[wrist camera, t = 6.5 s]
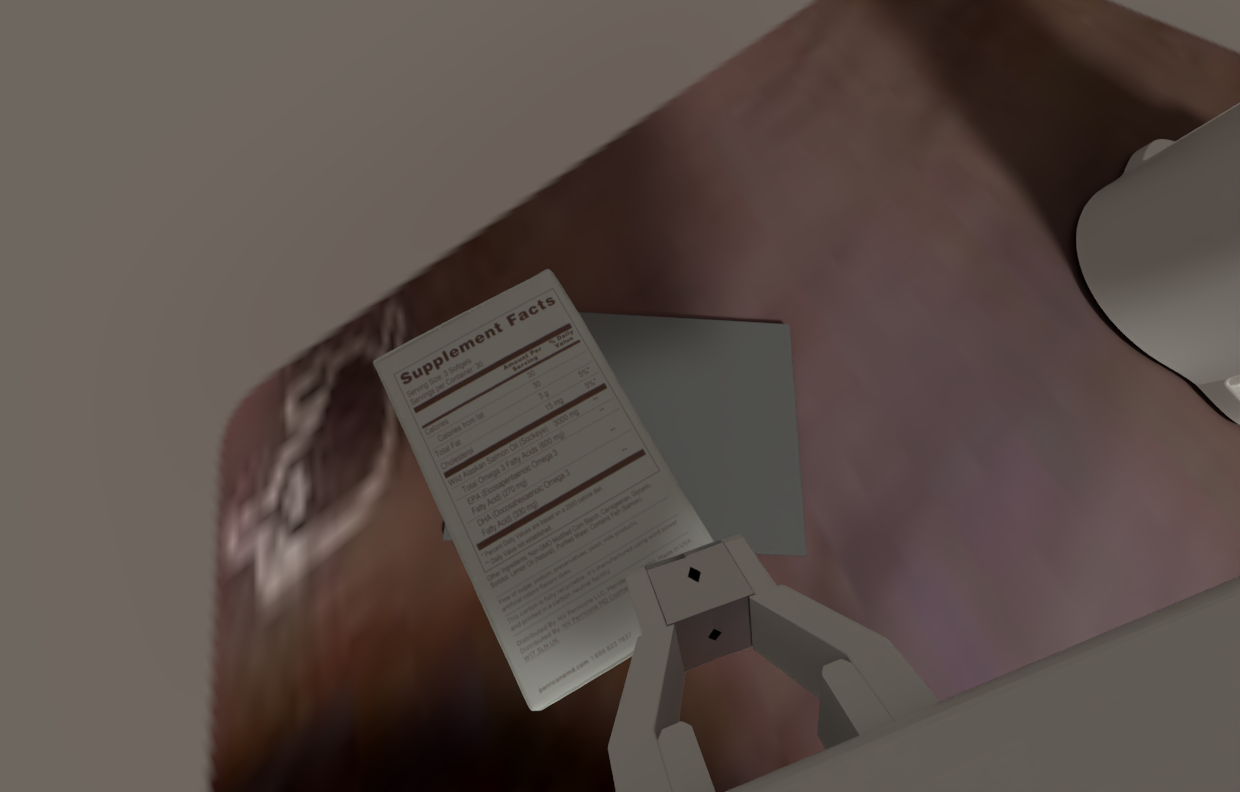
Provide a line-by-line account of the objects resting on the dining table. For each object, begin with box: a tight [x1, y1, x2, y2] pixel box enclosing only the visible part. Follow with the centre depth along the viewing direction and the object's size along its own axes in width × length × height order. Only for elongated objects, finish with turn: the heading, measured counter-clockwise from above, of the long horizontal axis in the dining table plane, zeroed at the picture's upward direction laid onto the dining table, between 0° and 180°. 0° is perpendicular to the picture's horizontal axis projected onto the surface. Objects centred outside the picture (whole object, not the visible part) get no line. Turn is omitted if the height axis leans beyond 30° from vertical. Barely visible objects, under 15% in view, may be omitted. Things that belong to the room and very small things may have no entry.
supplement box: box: [373, 269, 714, 711], centre depth 18 cm, size 7×7×13 cm
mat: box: [443, 312, 807, 556], centre depth 23 cm, size 17×12×1 cm
